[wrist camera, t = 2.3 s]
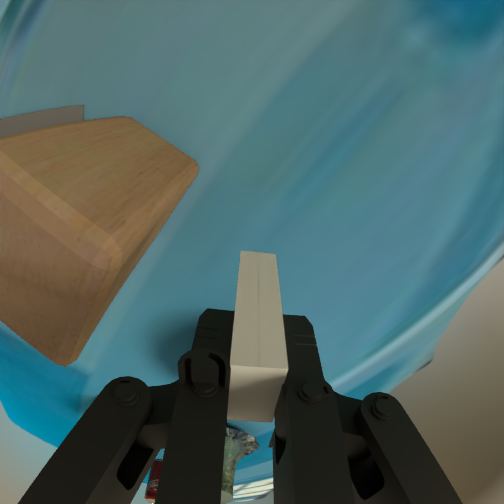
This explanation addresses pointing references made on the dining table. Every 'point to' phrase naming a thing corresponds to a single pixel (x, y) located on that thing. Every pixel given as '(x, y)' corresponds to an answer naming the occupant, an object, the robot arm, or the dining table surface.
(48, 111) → the mat
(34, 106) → the dining table surface
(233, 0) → the dining table surface
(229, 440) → the tree stump
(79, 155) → the wooden block
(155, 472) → the soda can
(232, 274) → the dining table surface
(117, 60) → the dining table surface
